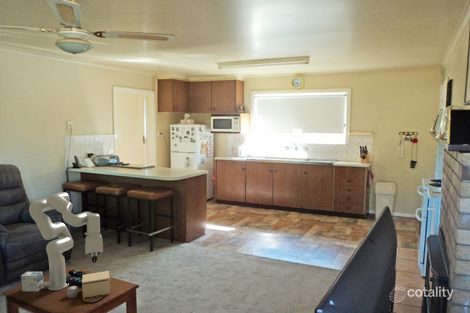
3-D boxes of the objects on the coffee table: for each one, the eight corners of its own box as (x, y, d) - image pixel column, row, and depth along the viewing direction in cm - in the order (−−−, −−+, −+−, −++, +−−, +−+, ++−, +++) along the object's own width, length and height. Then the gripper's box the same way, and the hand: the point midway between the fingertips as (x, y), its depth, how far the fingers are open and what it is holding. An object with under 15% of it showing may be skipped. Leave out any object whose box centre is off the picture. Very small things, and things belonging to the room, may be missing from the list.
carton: (82, 298, 222) (82, 284, 221) (83, 289, 235) (82, 275, 234) (110, 293, 228) (109, 280, 227) (109, 284, 241) (108, 271, 240)
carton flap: (82, 283, 221) (82, 282, 221) (82, 275, 234) (82, 274, 234) (109, 279, 227) (109, 277, 227) (108, 271, 240) (108, 270, 240)
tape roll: (67, 298, 222) (66, 290, 222) (67, 294, 228) (67, 286, 228) (77, 296, 225) (77, 289, 224) (78, 292, 230) (77, 285, 230)
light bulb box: (43, 287, 239) (43, 271, 238) (37, 291, 232) (36, 275, 231) (28, 286, 240) (27, 271, 239) (21, 291, 233) (20, 275, 232)
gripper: (80, 236, 219) (81, 265, 220) (106, 234, 224) (107, 262, 226) (80, 233, 225) (81, 261, 227) (106, 230, 231) (106, 258, 233)
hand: (94, 262), depth 227 cm, fingers closed
